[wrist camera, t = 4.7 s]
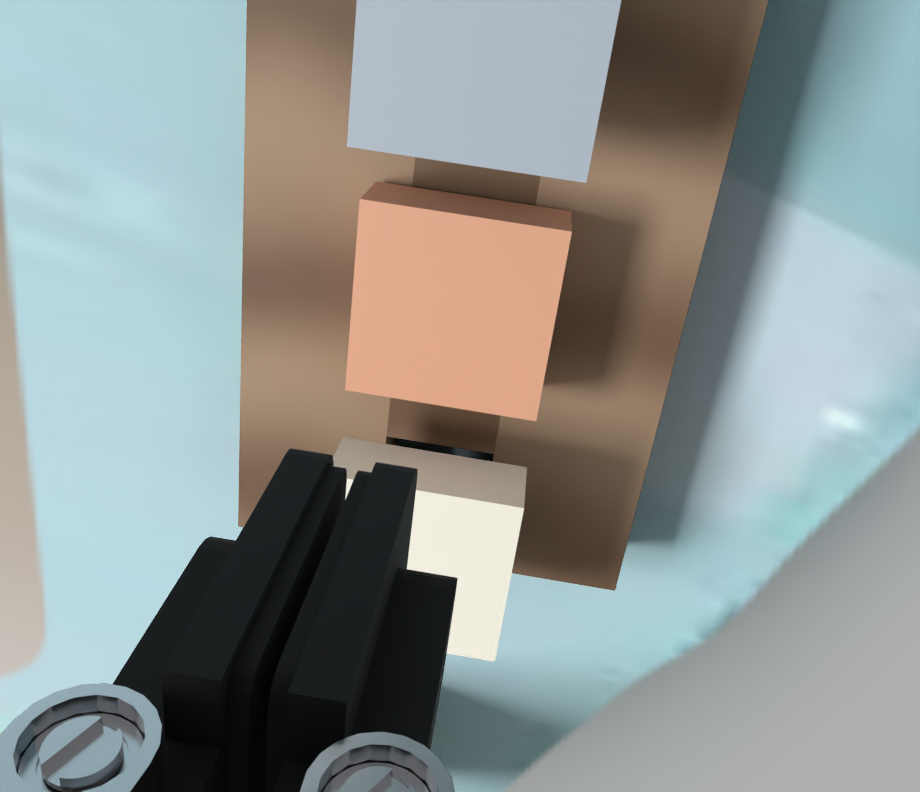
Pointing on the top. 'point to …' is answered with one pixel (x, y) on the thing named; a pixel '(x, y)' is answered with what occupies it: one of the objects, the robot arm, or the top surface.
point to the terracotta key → (455, 299)
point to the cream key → (457, 531)
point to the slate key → (482, 81)
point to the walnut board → (591, 204)
